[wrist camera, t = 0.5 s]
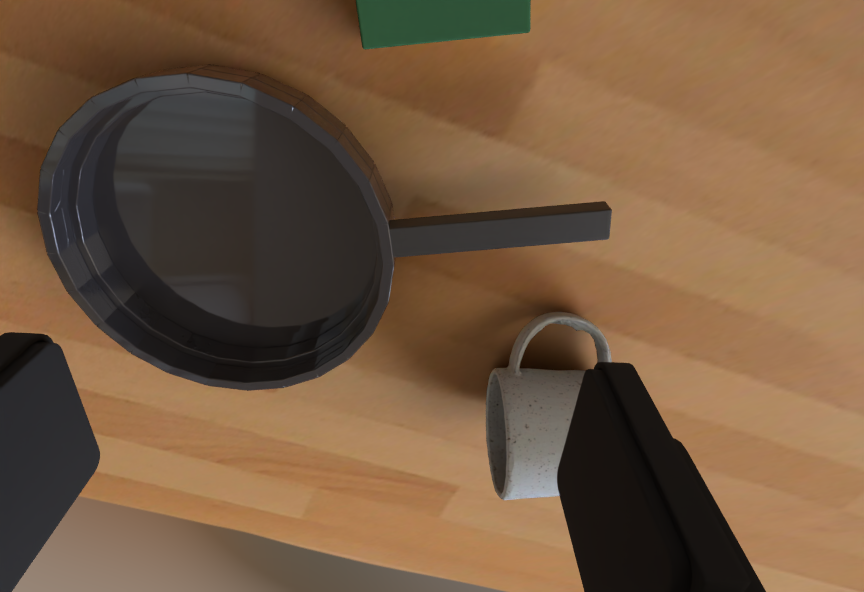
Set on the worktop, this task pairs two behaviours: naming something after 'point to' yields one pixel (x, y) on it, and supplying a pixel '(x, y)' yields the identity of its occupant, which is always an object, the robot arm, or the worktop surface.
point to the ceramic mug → (533, 414)
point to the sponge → (438, 20)
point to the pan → (219, 226)
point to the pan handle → (500, 229)
